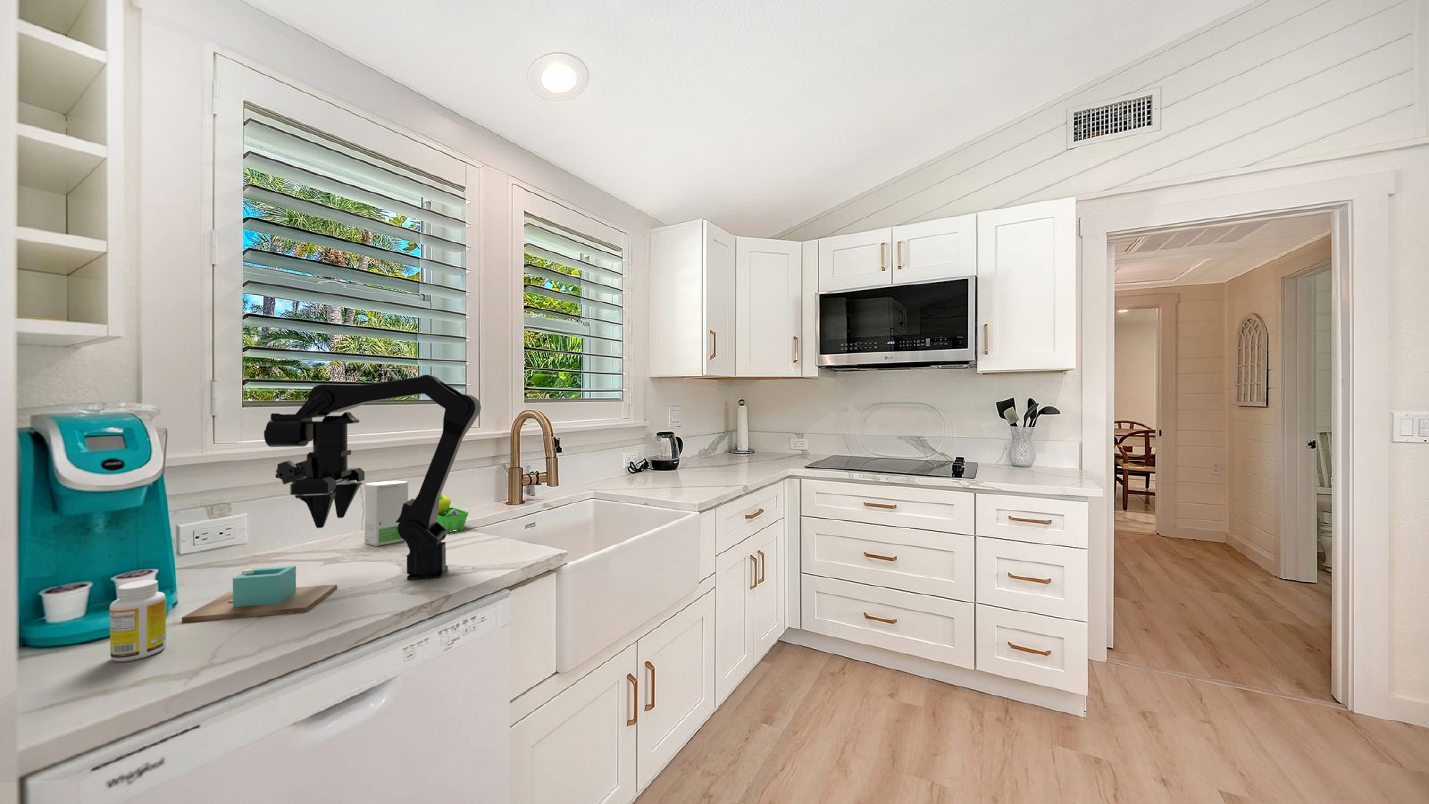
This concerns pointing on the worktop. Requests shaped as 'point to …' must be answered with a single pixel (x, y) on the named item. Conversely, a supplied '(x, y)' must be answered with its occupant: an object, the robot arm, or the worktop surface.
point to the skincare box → (384, 511)
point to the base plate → (293, 604)
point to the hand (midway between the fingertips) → (330, 522)
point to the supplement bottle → (137, 621)
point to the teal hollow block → (264, 586)
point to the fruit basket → (450, 515)
